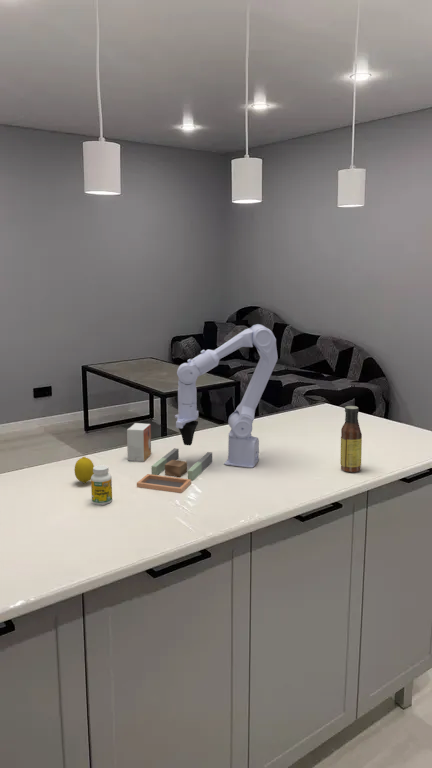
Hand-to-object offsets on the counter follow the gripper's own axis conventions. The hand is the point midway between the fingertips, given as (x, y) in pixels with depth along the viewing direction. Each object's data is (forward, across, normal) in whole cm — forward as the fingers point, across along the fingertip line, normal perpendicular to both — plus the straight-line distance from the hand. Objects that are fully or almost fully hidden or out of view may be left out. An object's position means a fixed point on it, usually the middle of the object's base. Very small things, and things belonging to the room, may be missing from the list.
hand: (187, 444), depth 189 cm
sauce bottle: (+7, -12, +49) cm, 51 cm away
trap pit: (+6, +19, 0) cm, 20 cm away
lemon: (+6, +25, -22) cm, 34 cm away
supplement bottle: (+6, +35, -11) cm, 37 cm away
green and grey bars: (+6, +4, 0) cm, 8 cm away
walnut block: (+7, +9, 0) cm, 11 cm away
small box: (+7, -1, -17) cm, 18 cm away
